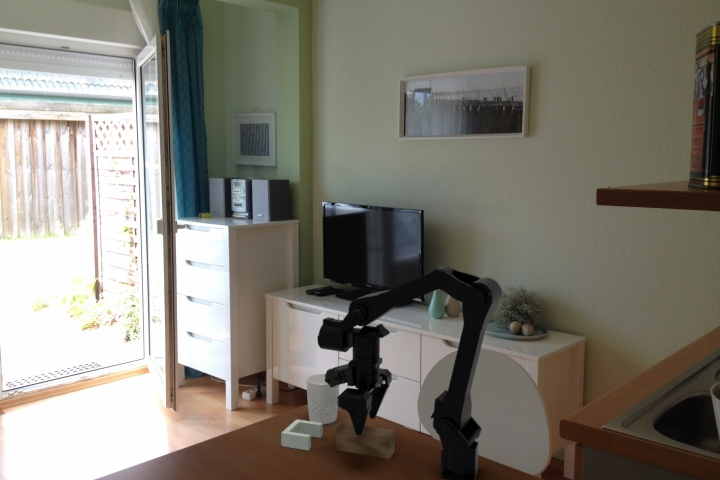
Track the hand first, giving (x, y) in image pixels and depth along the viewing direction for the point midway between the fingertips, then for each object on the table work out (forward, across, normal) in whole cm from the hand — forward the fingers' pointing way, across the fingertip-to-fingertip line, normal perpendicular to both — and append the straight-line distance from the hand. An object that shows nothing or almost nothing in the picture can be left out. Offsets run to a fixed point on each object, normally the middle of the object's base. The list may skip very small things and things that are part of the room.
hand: (365, 426), depth 138 cm
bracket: (+5, 0, -14) cm, 15 cm away
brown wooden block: (+6, 0, 0) cm, 6 cm away
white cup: (+6, -13, -15) cm, 21 cm away
